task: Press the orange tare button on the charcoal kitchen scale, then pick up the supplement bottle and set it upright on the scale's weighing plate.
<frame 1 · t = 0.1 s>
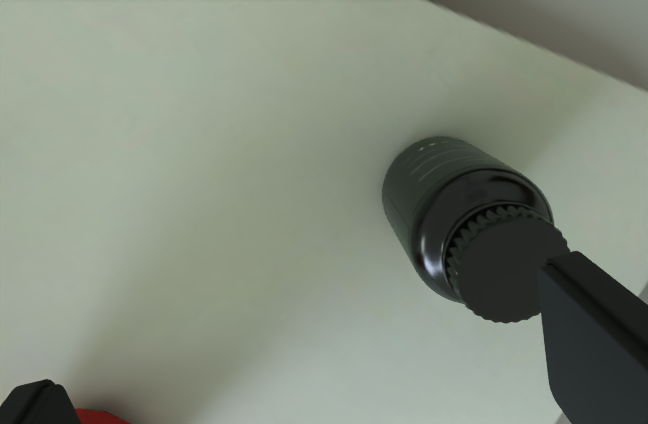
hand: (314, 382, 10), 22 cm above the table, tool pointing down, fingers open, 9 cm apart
supplement bottle: (434, 187, 33), on the table
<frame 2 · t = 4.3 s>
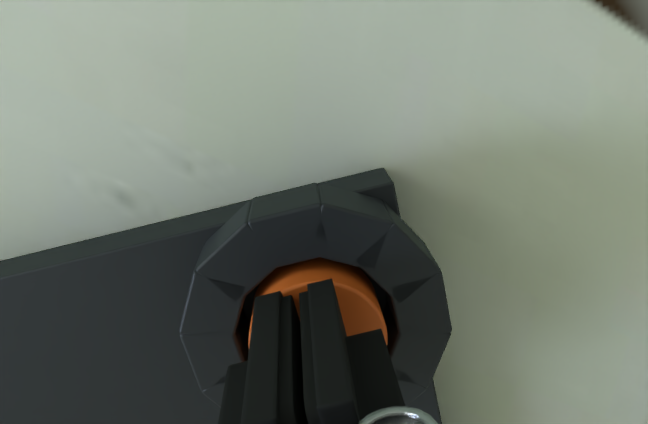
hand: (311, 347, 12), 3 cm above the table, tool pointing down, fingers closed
tare button: (316, 325, 12), point 3 cm above the table, slide at -0.6 cm, touching gripper
scale: (192, 413, 16), on the table
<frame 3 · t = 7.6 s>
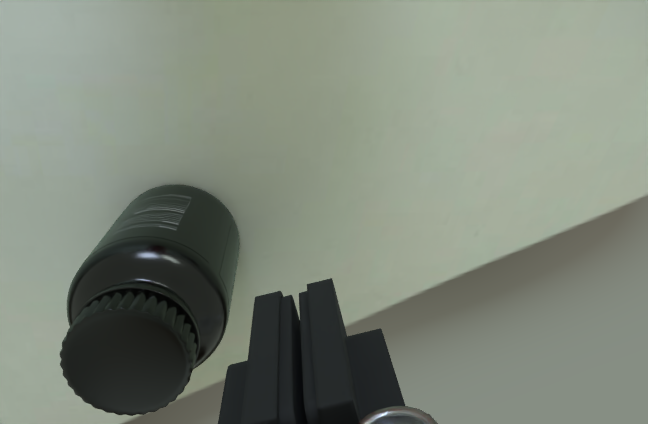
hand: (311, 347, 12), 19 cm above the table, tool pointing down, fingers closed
supplement bottle: (182, 237, 31), on the table
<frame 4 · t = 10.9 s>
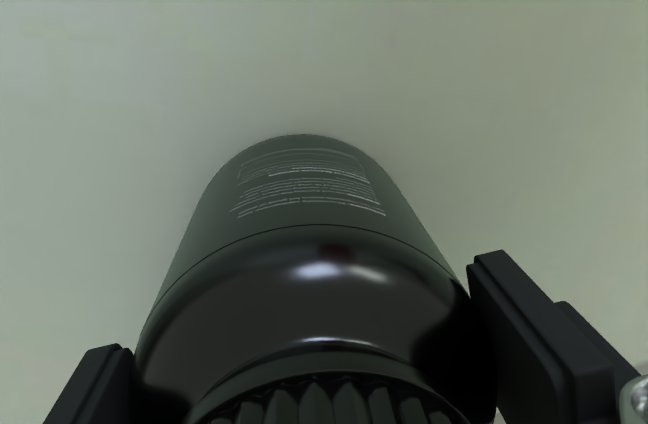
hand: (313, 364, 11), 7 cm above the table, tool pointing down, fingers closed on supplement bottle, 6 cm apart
supplement bottle: (302, 232, 18), on the table, touching gripper
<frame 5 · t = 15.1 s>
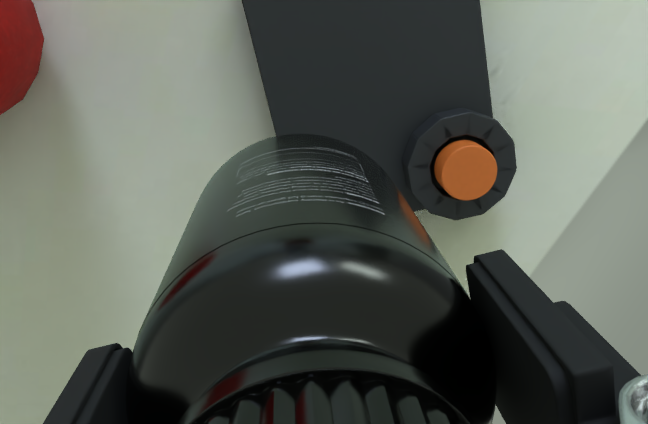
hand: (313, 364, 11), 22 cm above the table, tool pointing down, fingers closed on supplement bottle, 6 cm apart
tare button: (465, 169, 29), point 3 cm above the table, slide at 0.1 cm
scale: (376, 93, 31), on the table
supplement bottle: (301, 231, 18), point 14 cm above the table, touching gripper
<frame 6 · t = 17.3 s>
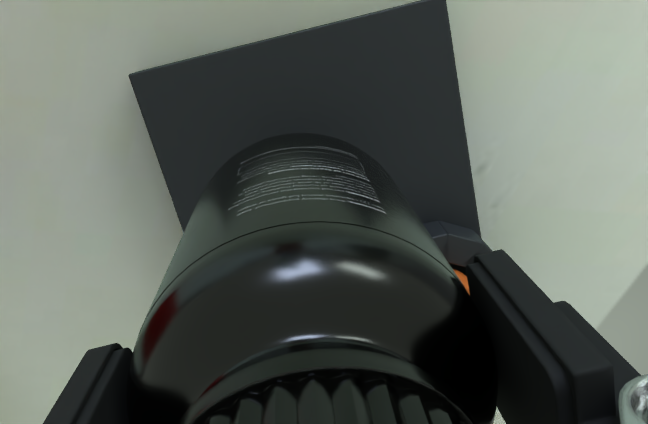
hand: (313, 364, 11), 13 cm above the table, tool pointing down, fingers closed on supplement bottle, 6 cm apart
tare button: (443, 308, 22), point 3 cm above the table, slide at 0.1 cm
scale: (326, 199, 24), on the table
supplement bottle: (302, 231, 18), point 6 cm above the table, touching gripper
when the fingers open (9 cm above the table, at t = 19.1 s): supplement bottle stays where it is, resting on scale.
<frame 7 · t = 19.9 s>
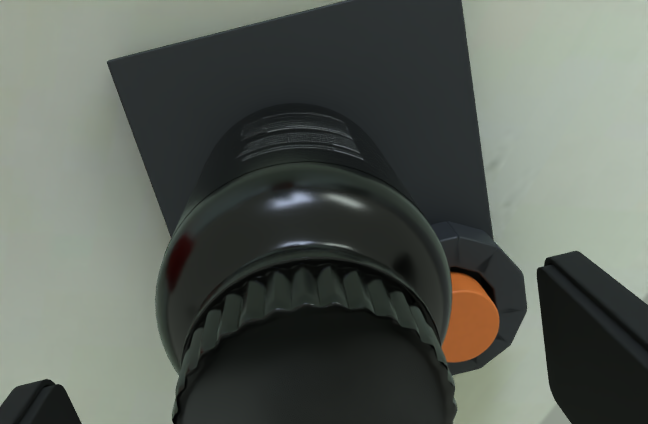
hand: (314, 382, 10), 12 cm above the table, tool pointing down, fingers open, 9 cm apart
tare button: (452, 316, 20), point 3 cm above the table, slide at 0.1 cm
scale: (326, 197, 22), on the table
supplement bottle: (296, 191, 20), point 1 cm above the table, touching scale
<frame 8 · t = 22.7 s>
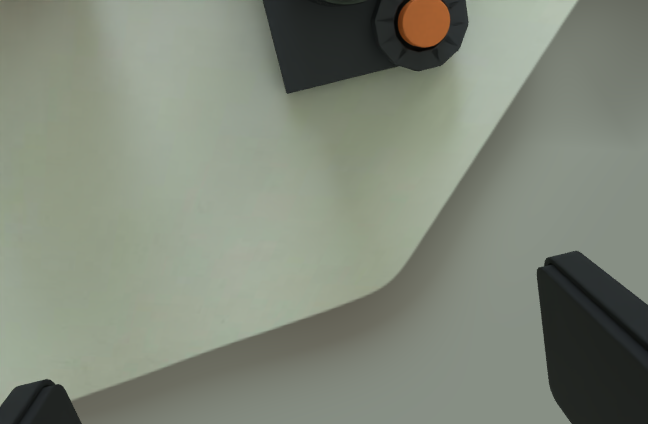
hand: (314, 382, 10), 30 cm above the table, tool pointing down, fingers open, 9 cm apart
tare button: (423, 22, 34), point 3 cm above the table, slide at 0.1 cm
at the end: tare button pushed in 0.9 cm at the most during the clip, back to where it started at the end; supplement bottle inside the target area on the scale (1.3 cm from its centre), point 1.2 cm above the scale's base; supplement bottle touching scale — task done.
